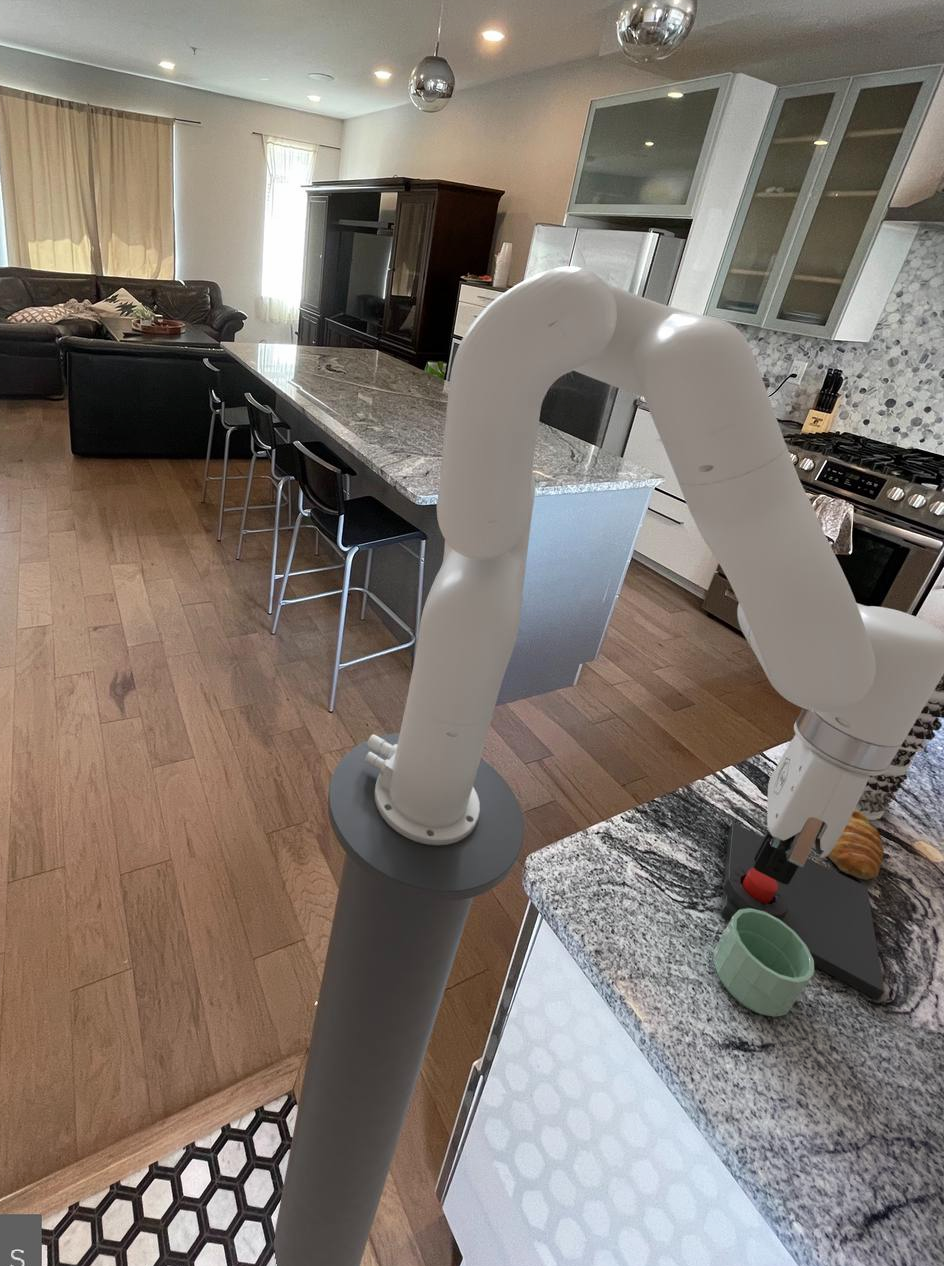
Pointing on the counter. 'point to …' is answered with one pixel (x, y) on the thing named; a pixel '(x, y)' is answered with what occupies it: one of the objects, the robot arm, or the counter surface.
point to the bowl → (763, 962)
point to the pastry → (858, 848)
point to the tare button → (760, 886)
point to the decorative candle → (902, 758)
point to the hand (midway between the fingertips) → (770, 871)
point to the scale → (812, 913)
